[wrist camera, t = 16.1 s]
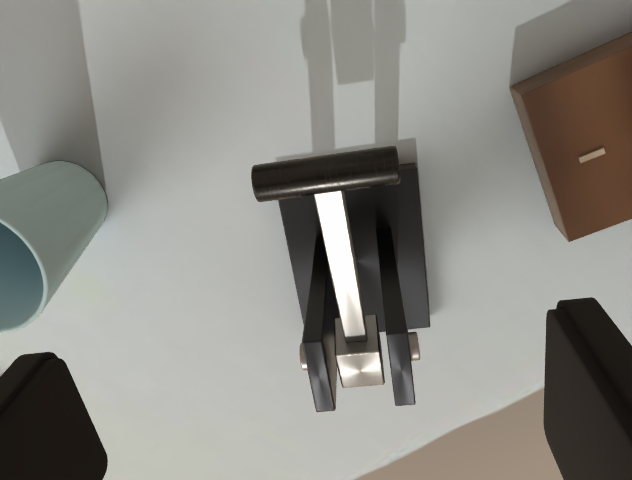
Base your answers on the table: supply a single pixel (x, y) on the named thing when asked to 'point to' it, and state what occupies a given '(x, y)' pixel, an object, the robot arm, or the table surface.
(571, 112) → the panel
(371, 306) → the bracket
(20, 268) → the cup
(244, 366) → the table surface
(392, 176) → the lever
